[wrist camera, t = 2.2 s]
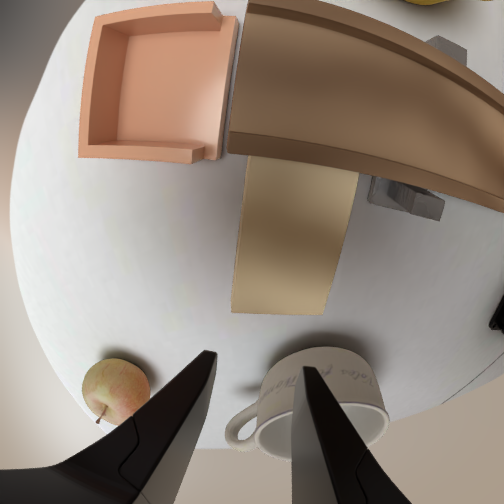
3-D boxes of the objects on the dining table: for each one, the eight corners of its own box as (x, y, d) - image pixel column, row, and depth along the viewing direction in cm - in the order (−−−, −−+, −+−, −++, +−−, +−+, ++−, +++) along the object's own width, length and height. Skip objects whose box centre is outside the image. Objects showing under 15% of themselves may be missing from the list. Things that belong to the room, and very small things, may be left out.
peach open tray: (220, 157, 19) (205, 165, 15) (110, 150, 19) (78, 157, 15) (239, 23, 15) (228, 1, 11) (124, 29, 15) (95, 16, 11)
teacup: (374, 318, 23) (399, 391, 15) (370, 395, 27) (382, 457, 19) (215, 340, 25) (193, 411, 18) (244, 409, 29) (234, 470, 22)
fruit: (133, 395, 31) (109, 445, 24) (90, 355, 29) (58, 403, 22) (173, 383, 29) (150, 442, 21) (126, 337, 27) (90, 394, 19)
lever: (480, 300, 19) (497, 317, 17) (212, 300, 16) (211, 331, 13) (529, 131, 13) (553, 138, 10) (247, 6, 9) (253, -17, 7)
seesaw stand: (416, 212, 19) (448, 237, 14) (367, 200, 19) (391, 224, 14) (441, 57, 14) (479, 46, 9) (392, 38, 14) (422, 16, 9)
